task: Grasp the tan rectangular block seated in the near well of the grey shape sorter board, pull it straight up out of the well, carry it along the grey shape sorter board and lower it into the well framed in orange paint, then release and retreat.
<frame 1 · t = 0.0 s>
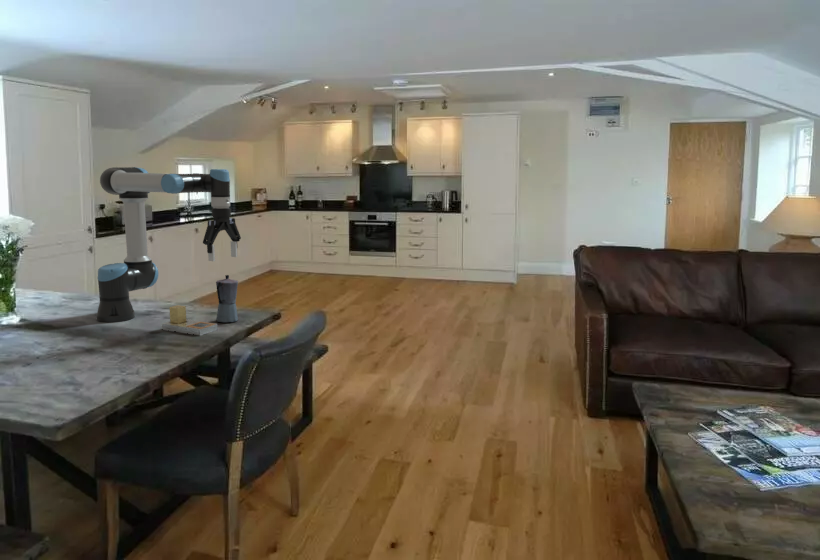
hand: (223, 258, 258), 28 cm above the table, fingers open, 13 cm apart
grey shape sorter board: (189, 329, 254), on the table
tan rectangular block: (178, 328, 257), resting in grey shape sorter board
moka pot: (227, 321, 269), on the table
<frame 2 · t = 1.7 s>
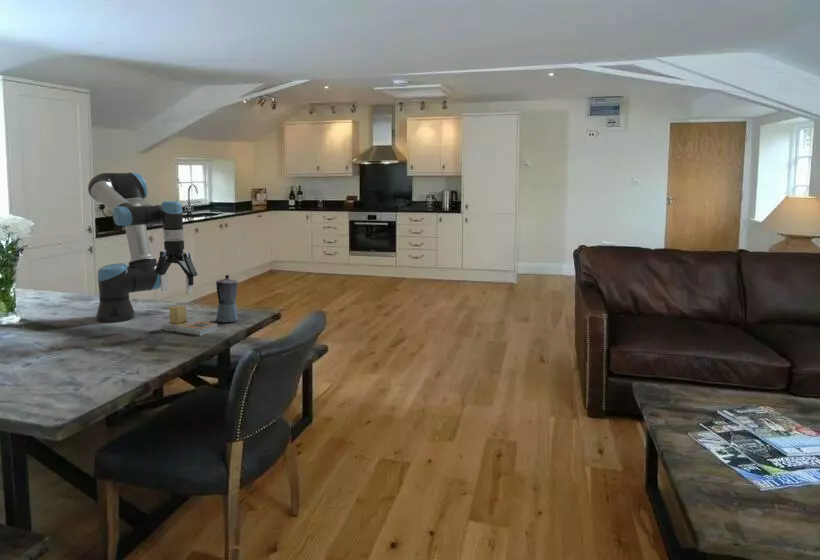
hand: (177, 292, 254), 15 cm above the table, fingers open, 13 cm apart
nothing on the table moved.
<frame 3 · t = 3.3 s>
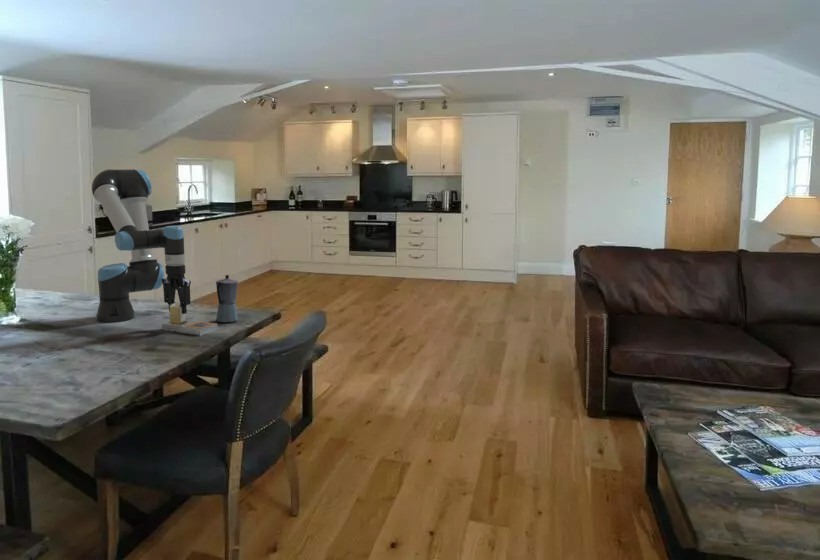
hand: (178, 320, 256), 3 cm above the table, fingers closed on tan rectangular block, 4 cm apart
tan rectangular block: (178, 328, 257), resting in grey shape sorter board, touching gripper
everything else where it was.
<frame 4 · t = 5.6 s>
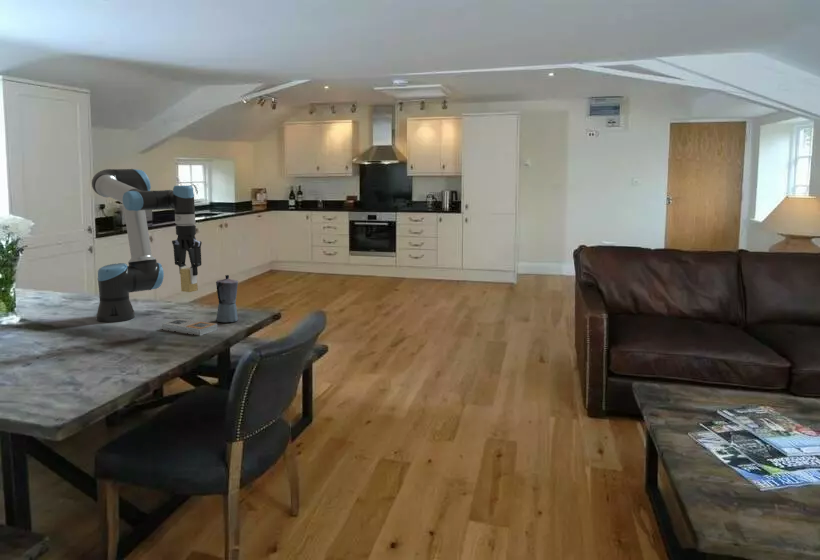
hand: (189, 282, 250), 20 cm above the table, fingers closed on tan rectangular block, 4 cm apart
tan rectangular block: (189, 290, 251), point 16 cm above the table, touching gripper
everything else where it was.
when the fingers open (5 cm above the table, at t = 7.9 s): tan rectangular block drops 2 cm, resting in grey shape sorter board.
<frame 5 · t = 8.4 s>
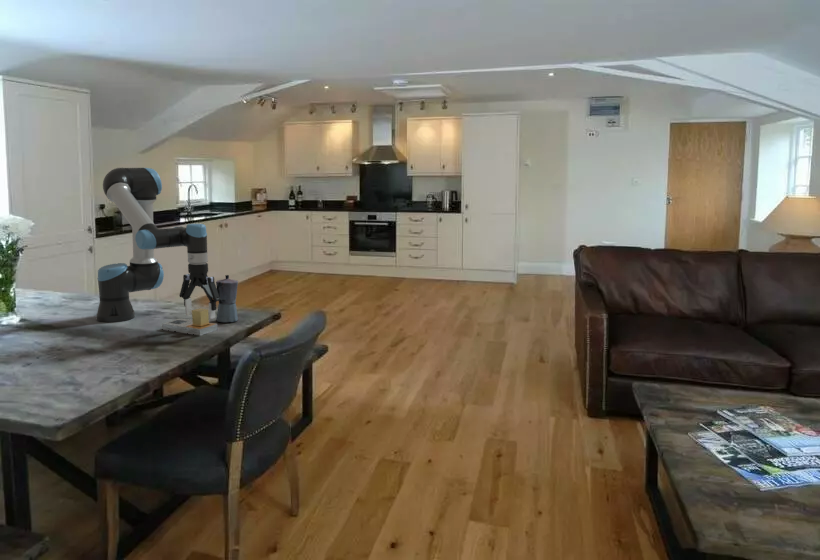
hand: (200, 316, 251), 6 cm above the table, fingers open, 11 cm apart
tan rectangular block: (201, 331, 252), resting in grey shape sorter board
everything else where it was.
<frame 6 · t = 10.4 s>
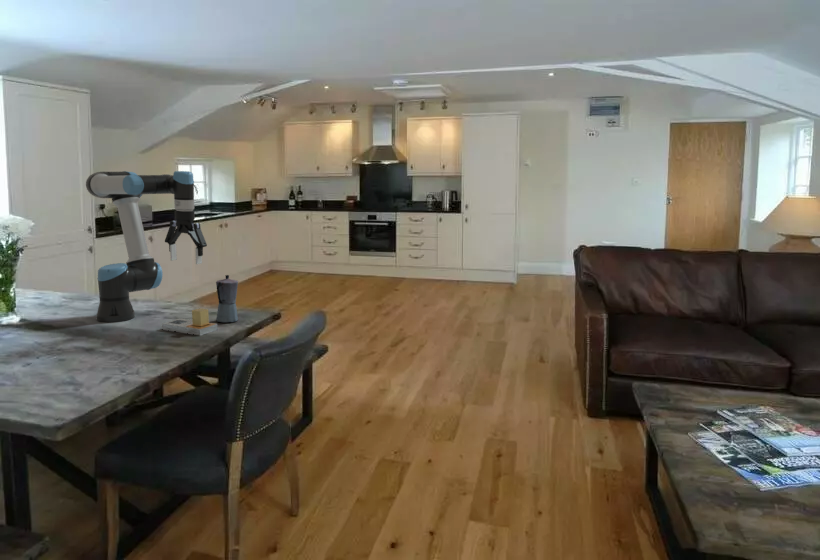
hand: (186, 262, 255), 27 cm above the table, fingers open, 13 cm apart
nothing on the table moved.
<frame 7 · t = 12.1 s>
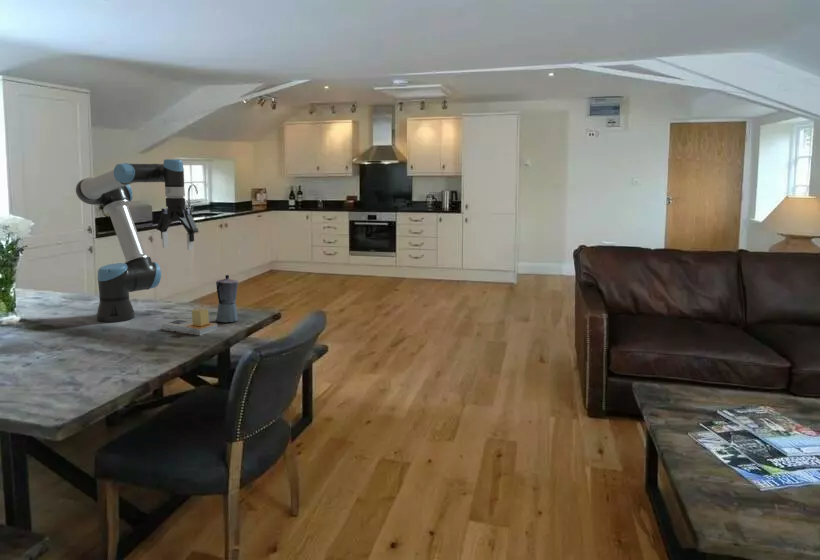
hand: (178, 248, 261), 32 cm above the table, fingers open, 13 cm apart
nothing on the table moved.
at the end: tan rectangular block 0.0 cm from the target spot on the grey shape sorter board, point 0.0 cm above the grey shape sorter board's base; tan rectangular block tilted 0°; the gripper is holding nothing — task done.
